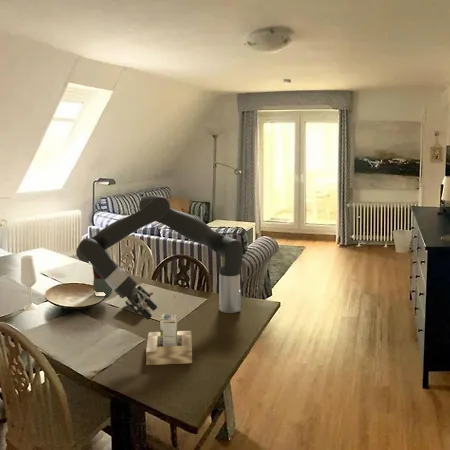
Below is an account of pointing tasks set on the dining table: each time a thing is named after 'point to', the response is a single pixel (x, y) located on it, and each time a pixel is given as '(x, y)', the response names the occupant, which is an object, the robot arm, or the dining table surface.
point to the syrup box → (168, 330)
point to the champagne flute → (28, 278)
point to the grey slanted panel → (143, 303)
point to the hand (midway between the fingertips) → (152, 313)
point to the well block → (169, 349)
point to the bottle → (101, 282)
